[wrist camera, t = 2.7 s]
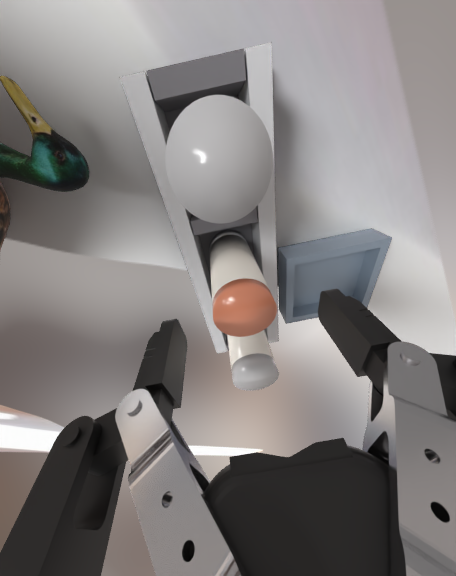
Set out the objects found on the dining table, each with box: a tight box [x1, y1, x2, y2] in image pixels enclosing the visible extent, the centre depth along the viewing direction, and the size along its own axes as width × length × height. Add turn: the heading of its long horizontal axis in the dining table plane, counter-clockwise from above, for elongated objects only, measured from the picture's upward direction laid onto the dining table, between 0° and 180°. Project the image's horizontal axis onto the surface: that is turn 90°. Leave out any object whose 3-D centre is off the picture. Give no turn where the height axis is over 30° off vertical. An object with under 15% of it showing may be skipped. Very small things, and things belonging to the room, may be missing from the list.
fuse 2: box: [227, 330, 279, 390], centre depth 18 cm, size 4×4×9 cm
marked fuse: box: [209, 230, 277, 337], centre depth 14 cm, size 4×4×9 cm
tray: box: [278, 229, 392, 323], centre depth 21 cm, size 10×9×3 cm
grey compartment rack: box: [119, 42, 279, 353], centre depth 17 cm, size 8×23×4 cm, turn 10°
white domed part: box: [165, 95, 273, 224], centre depth 10 cm, size 4×4×9 cm
